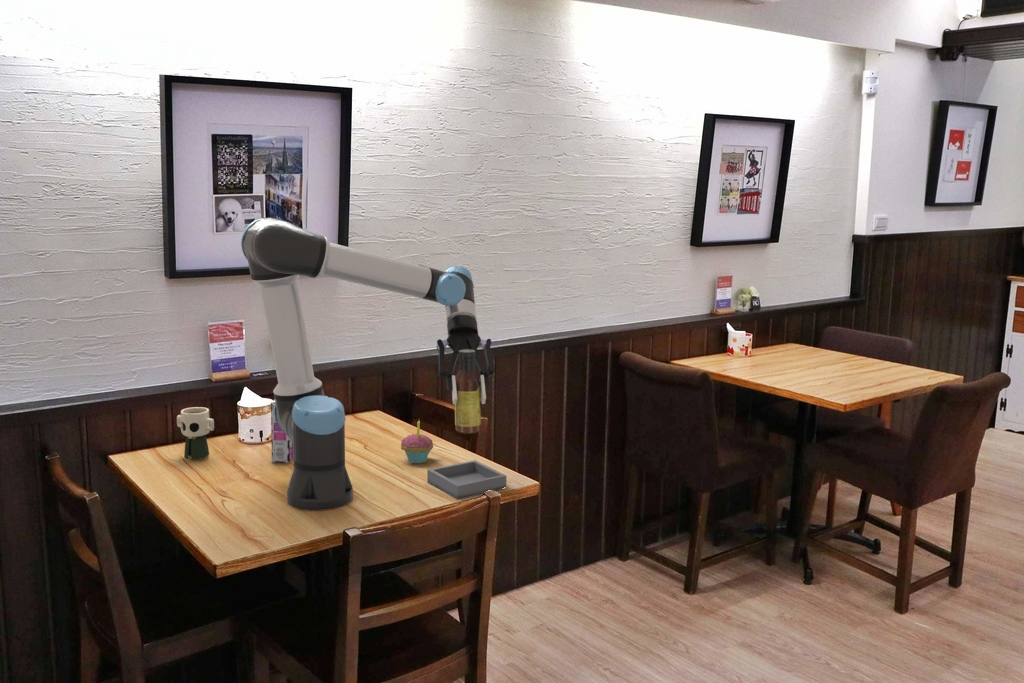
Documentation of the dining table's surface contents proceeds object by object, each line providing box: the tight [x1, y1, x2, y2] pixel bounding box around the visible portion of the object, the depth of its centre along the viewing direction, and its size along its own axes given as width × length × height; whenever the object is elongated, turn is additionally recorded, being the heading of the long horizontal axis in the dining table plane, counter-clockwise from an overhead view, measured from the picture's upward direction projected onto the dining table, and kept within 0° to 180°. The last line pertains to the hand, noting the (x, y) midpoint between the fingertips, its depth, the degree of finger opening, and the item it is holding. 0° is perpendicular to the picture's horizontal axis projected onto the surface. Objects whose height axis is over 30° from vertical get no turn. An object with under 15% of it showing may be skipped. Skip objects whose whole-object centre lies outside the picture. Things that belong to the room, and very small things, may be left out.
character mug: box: [176, 406, 215, 461], centre depth 241 cm, size 11×7×13 cm, turn 74°
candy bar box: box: [270, 398, 294, 464], centre depth 243 cm, size 11×5×16 cm, turn 2°
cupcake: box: [400, 419, 434, 464], centre depth 243 cm, size 9×8×12 cm
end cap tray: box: [427, 459, 508, 500], centre depth 226 cm, size 14×14×3 cm
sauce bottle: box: [454, 349, 482, 435], centre depth 221 cm, size 6×6×20 cm
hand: (469, 401), depth 218 cm, fingers closed on sauce bottle, 6 cm apart
